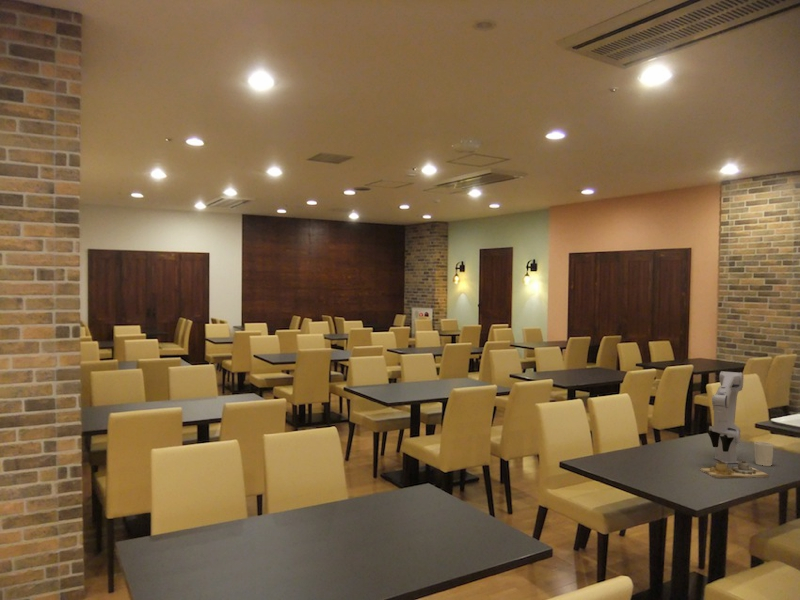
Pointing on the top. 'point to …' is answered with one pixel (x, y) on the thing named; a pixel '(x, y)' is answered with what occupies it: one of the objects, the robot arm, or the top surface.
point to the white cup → (763, 453)
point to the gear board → (738, 471)
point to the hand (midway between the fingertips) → (720, 449)
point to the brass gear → (721, 469)
